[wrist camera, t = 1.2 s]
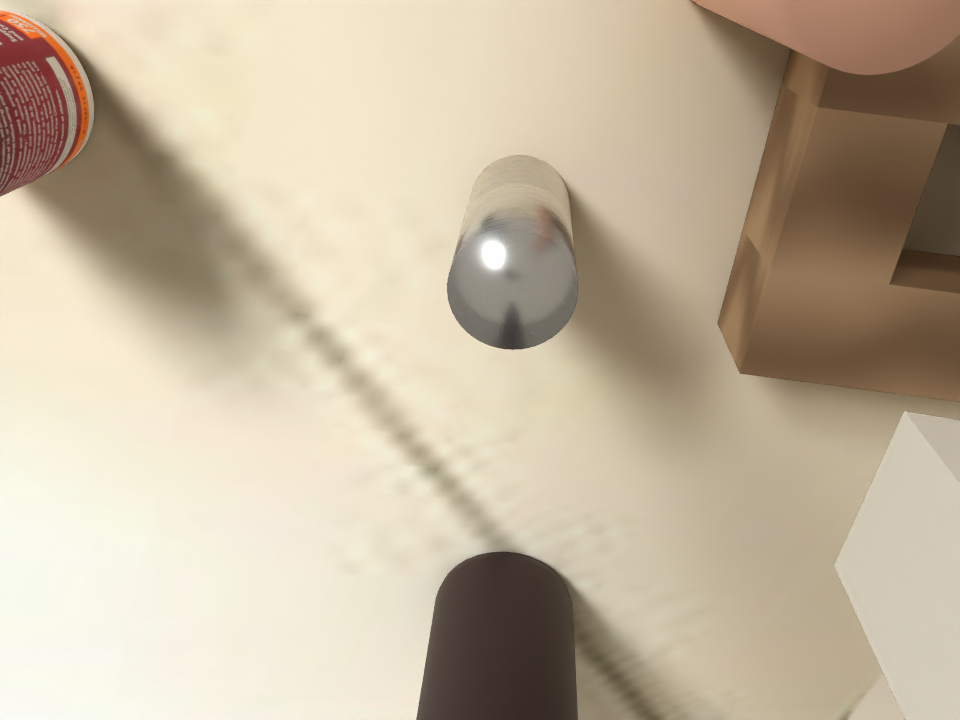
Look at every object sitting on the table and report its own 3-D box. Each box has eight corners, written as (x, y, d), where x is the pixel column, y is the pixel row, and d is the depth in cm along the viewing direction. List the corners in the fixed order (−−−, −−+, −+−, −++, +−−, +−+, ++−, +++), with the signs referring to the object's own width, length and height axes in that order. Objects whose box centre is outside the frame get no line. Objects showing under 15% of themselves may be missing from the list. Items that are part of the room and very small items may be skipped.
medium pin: (475, 149, 33) (453, 220, 25) (576, 162, 32) (587, 237, 24) (465, 245, 34) (441, 340, 26) (560, 257, 34) (566, 357, 26)
